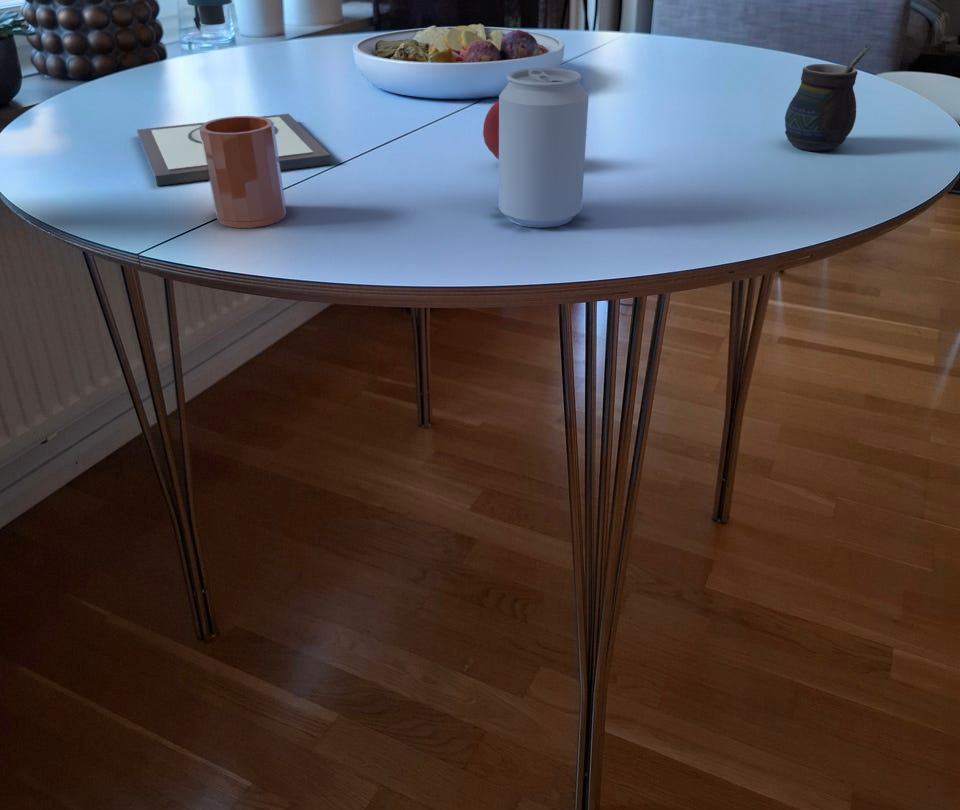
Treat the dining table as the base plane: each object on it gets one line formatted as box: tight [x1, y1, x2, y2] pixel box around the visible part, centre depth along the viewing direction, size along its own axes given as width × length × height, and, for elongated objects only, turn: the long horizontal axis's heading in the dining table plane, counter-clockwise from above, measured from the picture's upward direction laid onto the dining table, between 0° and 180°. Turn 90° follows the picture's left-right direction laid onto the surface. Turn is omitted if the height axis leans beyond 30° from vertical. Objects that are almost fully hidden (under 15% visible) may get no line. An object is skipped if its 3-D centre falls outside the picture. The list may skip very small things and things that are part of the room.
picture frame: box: [136, 113, 332, 187], centre depth 96 cm, size 18×20×1 cm
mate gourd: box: [784, 45, 872, 152], centre depth 93 cm, size 7×8×10 cm
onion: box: [482, 99, 499, 161], centre depth 88 cm, size 6×6×8 cm
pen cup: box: [199, 115, 287, 229], centre depth 76 cm, size 6×6×8 cm
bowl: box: [352, 23, 565, 100], centre depth 123 cm, size 30×30×8 cm
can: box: [498, 68, 590, 229], centre depth 74 cm, size 8×8×12 cm
